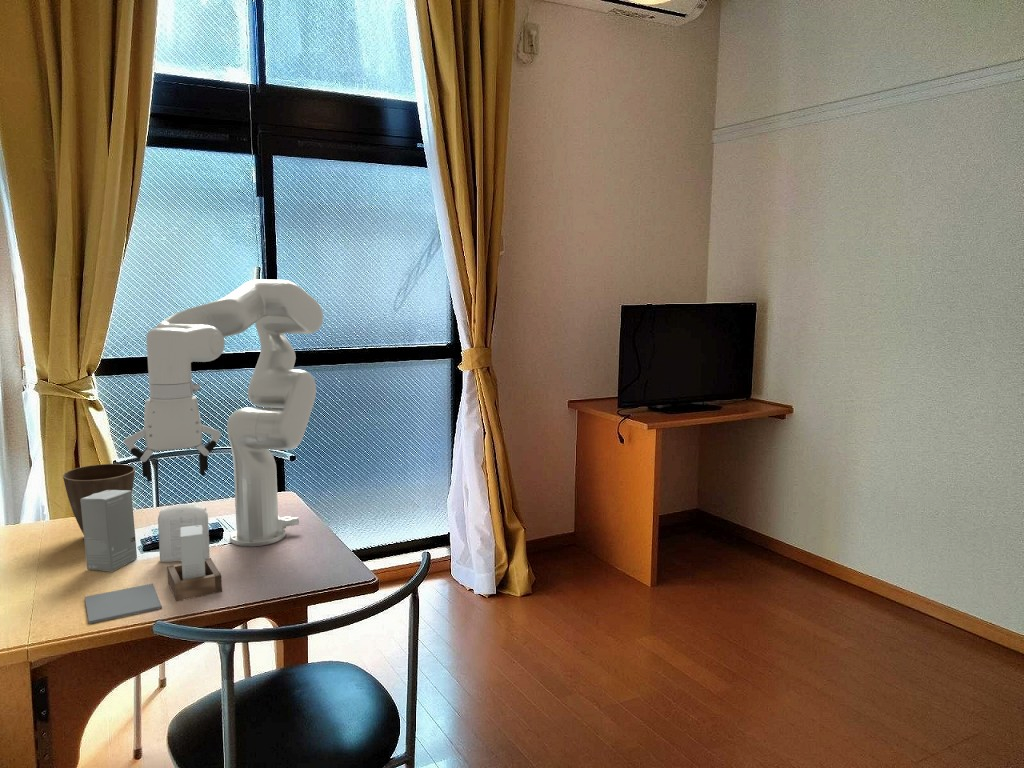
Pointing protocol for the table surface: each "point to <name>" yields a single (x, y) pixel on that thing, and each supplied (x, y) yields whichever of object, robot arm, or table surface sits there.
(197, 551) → the skincare box
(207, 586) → the frame
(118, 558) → the skincare box
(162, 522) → the photo printer
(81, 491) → the plant pot
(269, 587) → the table surface
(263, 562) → the table surface
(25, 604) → the table surface
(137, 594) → the grey mat
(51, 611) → the table surface
